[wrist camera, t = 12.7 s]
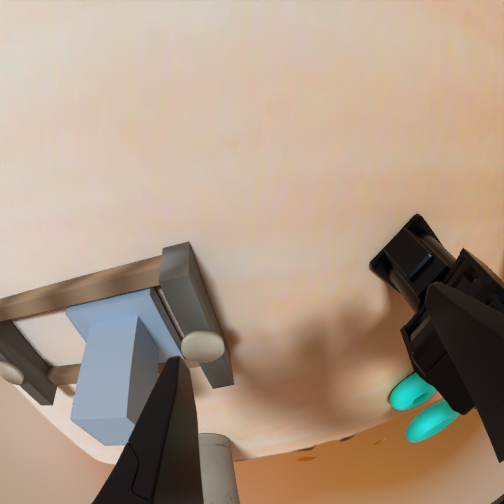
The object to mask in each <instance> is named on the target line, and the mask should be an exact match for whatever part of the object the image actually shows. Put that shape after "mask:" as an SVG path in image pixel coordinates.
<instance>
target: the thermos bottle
mask: <svg viewBox="0 0 504 504" xmlns="http://www.w3.org/2000/svg"><path fill="white" fill-rule="evenodd" d="M198 438H199V453H200V466H201V478H202V489H203V499H204V504H240V501H239V496H238V490H237V484H236V479H235V473H234V468H233V467H234V466H233V460H232V454H231V447H230V441H229V439H228V438H227V437H225V436H223V435H218V434H198Z"/></svg>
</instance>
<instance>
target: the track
mask: <svg viewBox="0 0 504 504" xmlns="http://www.w3.org/2000/svg"><path fill="white" fill-rule="evenodd" d="M157 285H160V287H161V289H162V291H163V293H164V295H165V297H166V300H167V302H168V304H169V306H170V308H171V310H172V312H173V314H174V316H175V318H176V320H177V322H178V324H179V326H180V328H181V330H182V332H183V334H184V338H183V339H182V342H181V351H182V354H183V355H184V359H183V360H184V362H185V364H186V365H187V367H188V368H193V367H199V366H201V368H202V370H203V372H204V374H205V375H206V377H207V379H208V381H209V382H210V384H211V386H212V388H213V389H215V388H220V387H225V386H230V385H234V379H233V373H232V366H231V360H230V353H229V349H228V347H227V344H226V342H225V339H224V337H223V334H222V332H221V329H220V326H219V324H218V321H217V318H216V316H215V313H214V310H213V308H212V305H211V302H210V300H209V297H208V294H207V291H206V289H205V286H204V283H203V280H202V278H201V275H200V272H199V269H198V266H197V263H196V261H195V258H194V255H193V252H192V249H191V246H190V243H189V242H186V243H182V244H178V245H174V246H170V247H166V248H163V252H162V255H161V256H157V257H153V258H149V259H145V260H142V261H138V262H134V263H130V264H126V265H122V266H119V267H115V268H111V269H107V270H103V271H100V272H96V273H92V274H89V275H85V276H81V277H77V278H74V279H70V280H66V281H63V282H59V283H55V284H52V285H48V286H45V287H41V288H37V289H34V290H30V291H27V292H23V293H20V294H16V295H13V296H9V297H6V298H2V299H0V376H1V377H3V378H4V379H5V380H6V381H8V382H10V383H12V384H16V385H20V386H21V387H22V388H23V389H24V390H25V391H26V392H27V393H28V394H29V395H30V396H31V397H32V398H33V399H35V400H36V401H37V402H38V403H39V404H40V405H53V402H54V398H55V393H56V389H57V385H62V384H76V383H77V381H78V376H79V372H80V368H81V364H75V365H66V366H57V367H49V366H48V365H47V364H46V363H45V362H44V360H43V359H42V358H41V357H40V356H39V355H38V354H37V352H36V351H35V350H34V349H33V348H32V347H31V345H30V344H29V343H28V342H27V341H26V339H25V338H24V337H23V336H22V334H21V333H20V332H19V331H18V329H17V328H16V327H15V325H14V324H13V323H12V321H11V320H10V319H14V318H18V317H23V316H27V315H32V314H36V313H41V312H45V311H49V310H54V309H58V308H63V307H67V306H71V305H76V304H80V303H85V302H89V301H93V300H98V299H102V298H106V297H111V296H115V295H119V294H123V293H128V292H132V291H136V290H141V289H145V288H149V287H153V286H157ZM165 363H166V362H163V363H158V374H159V373H161V371H162V369H163V367H164V365H165Z"/></svg>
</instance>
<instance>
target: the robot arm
mask: <svg viewBox="0 0 504 504" xmlns="http://www.w3.org/2000/svg"><path fill="white" fill-rule="evenodd" d="M417 220H418V221H417ZM376 263H377V264H376ZM375 264H376V265H375ZM370 266H371V268H372V269H373V270H374V271H375V272H376V273H377V274H379V275H380V276H381V277H382V278H383V279H384V280H386V281H387V282H388V283H389V284H390V285H391V286H392V287H393V288H395V289H396V290H397V291H398V292H399V293H401V294H402V295H403V297H404V298H405V299H406V301H407V302H408V303H409V305H410V306H411V307H412V309H413V310H414V311H415V315H414V316H413V317H412V318H411V319H410V321H409V322H408V323H407V324H406V325H404V326H403V327H402V328H401V330H400V331H401V334H402V337H403V340H404V342H405V345H406V348H407V351H408V354H409V357H410V360H411V363H412V366H413V369H414V371H415V372H416V373H417V374H418V375H419V377H420V378H422V379H423V380H424V381H425V382H426V383H428V384H430V385H432V386H433V387H434V388H435V389H436V390H437V391H438V392H439V393H440V394H441V395H442V396H443V398H444V399H445V400H446V402H447V403H448V405H449V406H450V407H451V409H452V410H453V411H455V412H458V413H460V414H462V415H466V414H467V413H468V412H469V411H470V410H471V409H472V408H474V409H477V411H478V413H479V415H480V417H481V419H482V422H483V424H484V427H485V429H486V431H487V434H488V436H489V438H490V441H491V443H492V446H493V448H494V451H495V453H496V456H497V459H498V461H499V463H501V462H502V461H504V283H503V281H502V280H501V279H500V278H499V277H498V276H497V275H496V274H495V273H494V272H493V271H492V270H491V269H490V268H489V267H488V266H487V265H485V264H484V263H483V262H482V261H481V260H479V259H478V258H477V257H475V256H474V255H473V254H471V253H470V252H468V251H467V250H466V249H464V248H463V249H462V250H461V252H460V255H459V256H458V258H457V259H455V258H454V257H453V256H452V255H451V254H450V253H449V252H448V251H447V250H446V249H445V248H444V247H443V245H442V244H441V243H440V241H439V240H438V238H437V237H436V235H435V234H434V232H433V231H432V229H431V228H430V227H429V225H428V224H427V222H426V221H425V220H424V218H423V217H422V216H421V215H419V214H416V215H414V216H413V217H412V219H411V220H410V221H409V222H408V223H407V224H406V225H405V226H404V227H403V228H402V229H401V231H400V232H399V233H398V234H397V235H396V236H395V237H394V238H393V239H392V240H391V241H390V242H389V243H388V244H387V245H386V246H385V247H384V249H383V250H382V251H381V252H380V253H379V254H378V255H377V256H376V257H375V258H374V259H373V260H372V261H371V262H370ZM92 504H204V499H203V489H202V478H201V466H200V453H199V438H198V422H197V411H196V405H195V400H194V394H193V388H192V382H191V375H190V371H189V369H188V367H187V365H186V364H185V362H184V360H183V359H182V357H181V356H173V357H169V358H168V359H167V361H166V363H165V365H164V367H163V369H162V371H161V373H160V375H159V377H158V379H157V381H156V383H155V385H154V387H153V389H152V391H151V393H150V395H149V397H148V400H147V402H146V404H145V406H144V408H143V410H142V412H141V414H140V416H139V418H138V420H137V422H136V424H135V427H134V429H133V431H132V433H131V435H130V437H129V439H128V442H127V443H126V445H125V447H124V450H123V452H122V454H121V456H120V458H119V460H118V462H117V463H116V465H115V467H114V469H113V470H112V472H111V474H110V475H109V477H108V479H107V480H106V482H105V484H104V485H103V487H102V488H101V490H100V492H99V493H98V495H97V496H96V498H95V500H94V501H93V502H92ZM491 504H504V494H503V495H502V496H500V497H499V498H498V499H497V500H495V501H494V502H493V503H491Z"/></svg>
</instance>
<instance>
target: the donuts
mask: <svg viewBox="0 0 504 504" xmlns="http://www.w3.org/2000/svg"><path fill="white" fill-rule="evenodd" d="M436 391H437V390H436V389H435V388H434V387H433V386H432V385H430V384H428V383H426V382H425V381H424V380H423V379H422V378H420V377H419V375H418V374H417V373H416V372H415V373H413V374H412V375H410V376H408V377H407V378H406V379H404V380H403V381H402V382H401V383H399V384H398V385H397V387H396V388H395V389H394V390H393V392H392V393H391V396H390V404H391V406H392V407H393V408H394V409H397V410H408V409H412V408H414V407H416V406H418V405H420V404H422V403H424V402H425V401H426V400H428V399H429V398H430V397H431V396H432V395H433V394H434V393H435V392H436ZM458 415H459V413H458V412H455V411H453V410H452V409H451V407H450V406H449V405H448V403H447V402H446V400H444V401H441V402H438V403H436V404H434V405H432V406H431V407H429V408H427V409H426V410H424V411H423V412H421V413H420V414H419V415H418V416H416V417H415V418H414V419H413V420H412V422H411V423H410V424H409V425H408V427H407V429H406V438H407V440H408V441H410V442H420V441H423V440H425V439H427V438H429V437H431V436H433V435H435V434H436V433H438V432H440V431H441V430H443V429H444V428H445V427H447V426H448V425H449V424H450V423H452V422H453V421H454V420H455V419H456V418H457V416H458Z"/></svg>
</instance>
